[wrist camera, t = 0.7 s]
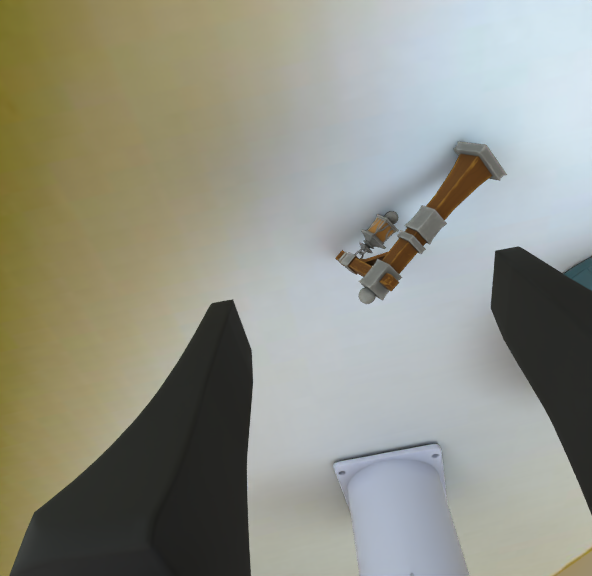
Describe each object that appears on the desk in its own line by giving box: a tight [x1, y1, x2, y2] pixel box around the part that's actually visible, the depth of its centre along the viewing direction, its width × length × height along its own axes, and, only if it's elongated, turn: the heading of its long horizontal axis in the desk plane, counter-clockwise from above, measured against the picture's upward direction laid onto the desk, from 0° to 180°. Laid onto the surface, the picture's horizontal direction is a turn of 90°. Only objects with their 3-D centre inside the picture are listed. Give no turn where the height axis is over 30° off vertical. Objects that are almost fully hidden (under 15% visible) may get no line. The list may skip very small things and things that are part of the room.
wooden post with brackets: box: [335, 142, 507, 304], centre depth 21 cm, size 2×8×4 cm, turn 133°
